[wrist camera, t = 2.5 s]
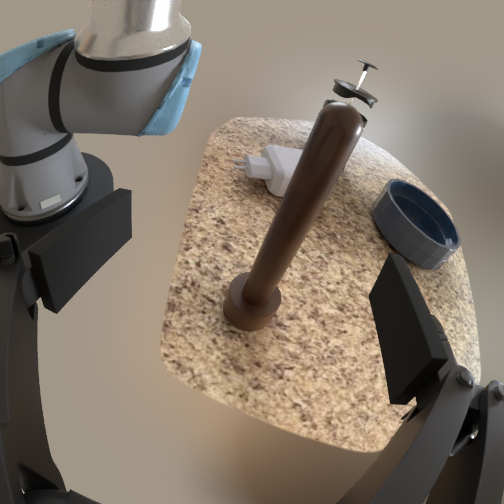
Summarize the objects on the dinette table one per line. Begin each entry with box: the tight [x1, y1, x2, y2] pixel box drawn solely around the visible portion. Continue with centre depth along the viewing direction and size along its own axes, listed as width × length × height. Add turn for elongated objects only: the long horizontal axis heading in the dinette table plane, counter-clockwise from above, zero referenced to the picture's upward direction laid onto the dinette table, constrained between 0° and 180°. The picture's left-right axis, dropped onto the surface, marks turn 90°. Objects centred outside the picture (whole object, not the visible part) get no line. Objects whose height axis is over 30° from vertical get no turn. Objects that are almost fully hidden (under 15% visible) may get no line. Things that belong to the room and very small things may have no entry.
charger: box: [233, 144, 335, 201], centre depth 43 cm, size 5×9×15 cm
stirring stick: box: [223, 102, 363, 331], centre depth 21 cm, size 5×5×21 cm
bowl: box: [372, 179, 461, 270], centre depth 45 cm, size 17×17×6 cm
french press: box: [323, 59, 378, 171], centre depth 48 cm, size 12×9×23 cm
